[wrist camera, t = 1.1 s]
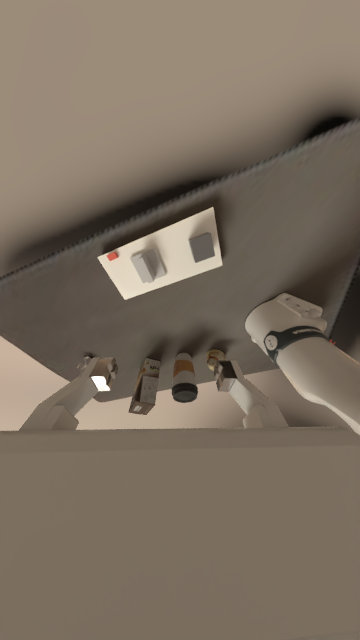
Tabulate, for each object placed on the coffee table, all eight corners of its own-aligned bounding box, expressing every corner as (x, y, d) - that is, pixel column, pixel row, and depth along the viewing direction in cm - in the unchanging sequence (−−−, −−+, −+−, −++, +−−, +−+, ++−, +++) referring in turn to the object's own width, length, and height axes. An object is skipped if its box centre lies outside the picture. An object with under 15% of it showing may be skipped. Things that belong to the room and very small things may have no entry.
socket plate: (210, 208, 27) (214, 206, 24) (219, 263, 33) (223, 266, 30) (102, 255, 31) (95, 257, 29) (127, 295, 37) (123, 301, 35)
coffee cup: (180, 347, 50) (181, 387, 37) (197, 355, 52) (204, 395, 40) (168, 359, 53) (166, 399, 41) (185, 366, 56) (187, 405, 44)
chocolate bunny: (215, 344, 49) (222, 368, 41) (226, 355, 52) (235, 378, 44) (203, 352, 51) (208, 375, 43) (215, 361, 55) (221, 384, 46)
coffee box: (145, 357, 52) (135, 400, 39) (160, 361, 54) (155, 404, 41) (139, 370, 57) (127, 412, 44) (153, 373, 59) (146, 415, 45)
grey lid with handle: (155, 247, 28) (152, 250, 25) (166, 274, 31) (165, 280, 28) (130, 257, 29) (124, 261, 26) (143, 282, 33) (139, 289, 29)
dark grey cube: (206, 232, 27) (210, 232, 24) (210, 252, 29) (215, 255, 26) (188, 239, 28) (189, 241, 24) (193, 259, 30) (195, 263, 27)
